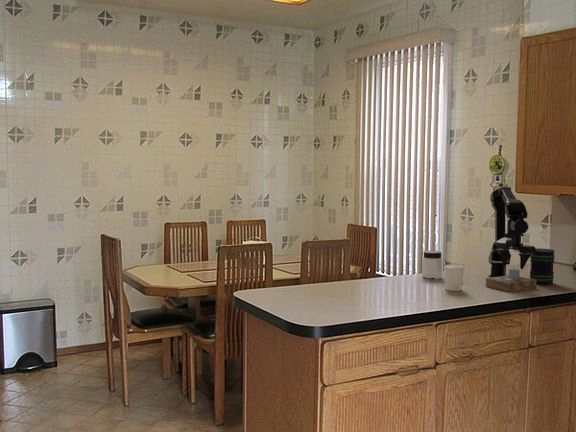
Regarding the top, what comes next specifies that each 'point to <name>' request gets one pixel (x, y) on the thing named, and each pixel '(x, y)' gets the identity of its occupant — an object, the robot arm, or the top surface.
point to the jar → (432, 264)
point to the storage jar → (542, 266)
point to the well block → (510, 284)
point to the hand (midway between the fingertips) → (513, 267)
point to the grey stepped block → (513, 275)
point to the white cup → (453, 277)
